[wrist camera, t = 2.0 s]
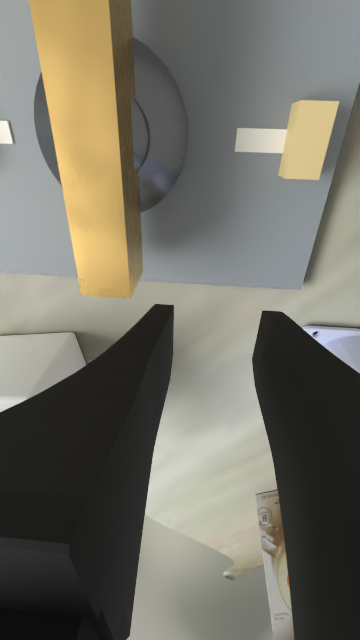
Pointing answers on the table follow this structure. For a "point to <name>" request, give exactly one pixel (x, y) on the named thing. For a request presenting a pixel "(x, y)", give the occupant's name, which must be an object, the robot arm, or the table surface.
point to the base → (203, 140)
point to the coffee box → (275, 564)
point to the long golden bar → (105, 133)
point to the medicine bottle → (35, 364)
